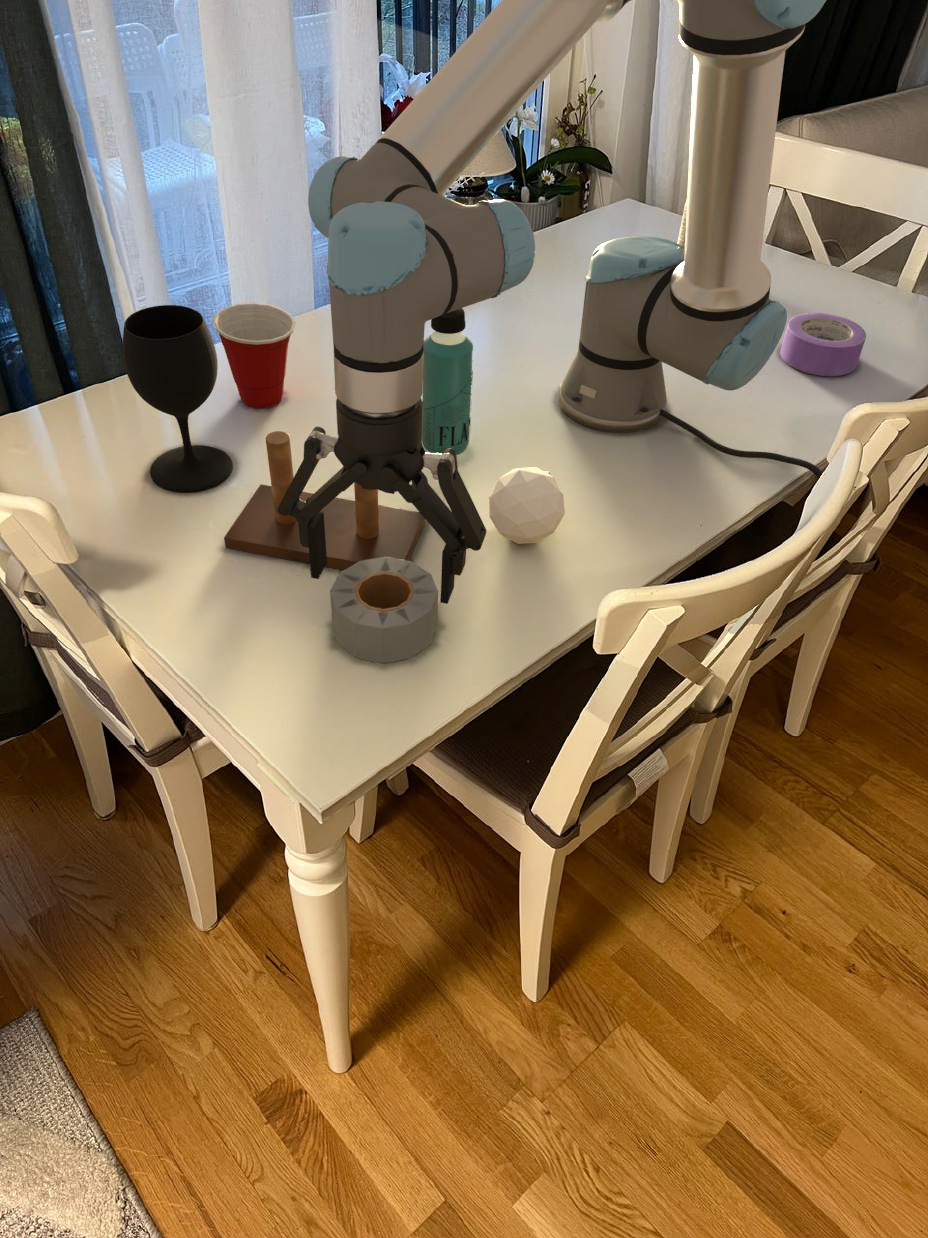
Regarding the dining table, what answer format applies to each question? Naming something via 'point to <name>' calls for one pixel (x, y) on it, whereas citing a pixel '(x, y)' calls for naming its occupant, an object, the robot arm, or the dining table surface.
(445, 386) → the beverage bottle
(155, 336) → the wine glass
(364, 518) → the peg rack
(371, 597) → the duct tape
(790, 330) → the tape roll
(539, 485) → the white faceted ball
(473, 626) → the dining table surface
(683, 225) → the screw
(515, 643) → the dining table surface
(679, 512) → the dining table surface
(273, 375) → the plastic cup
